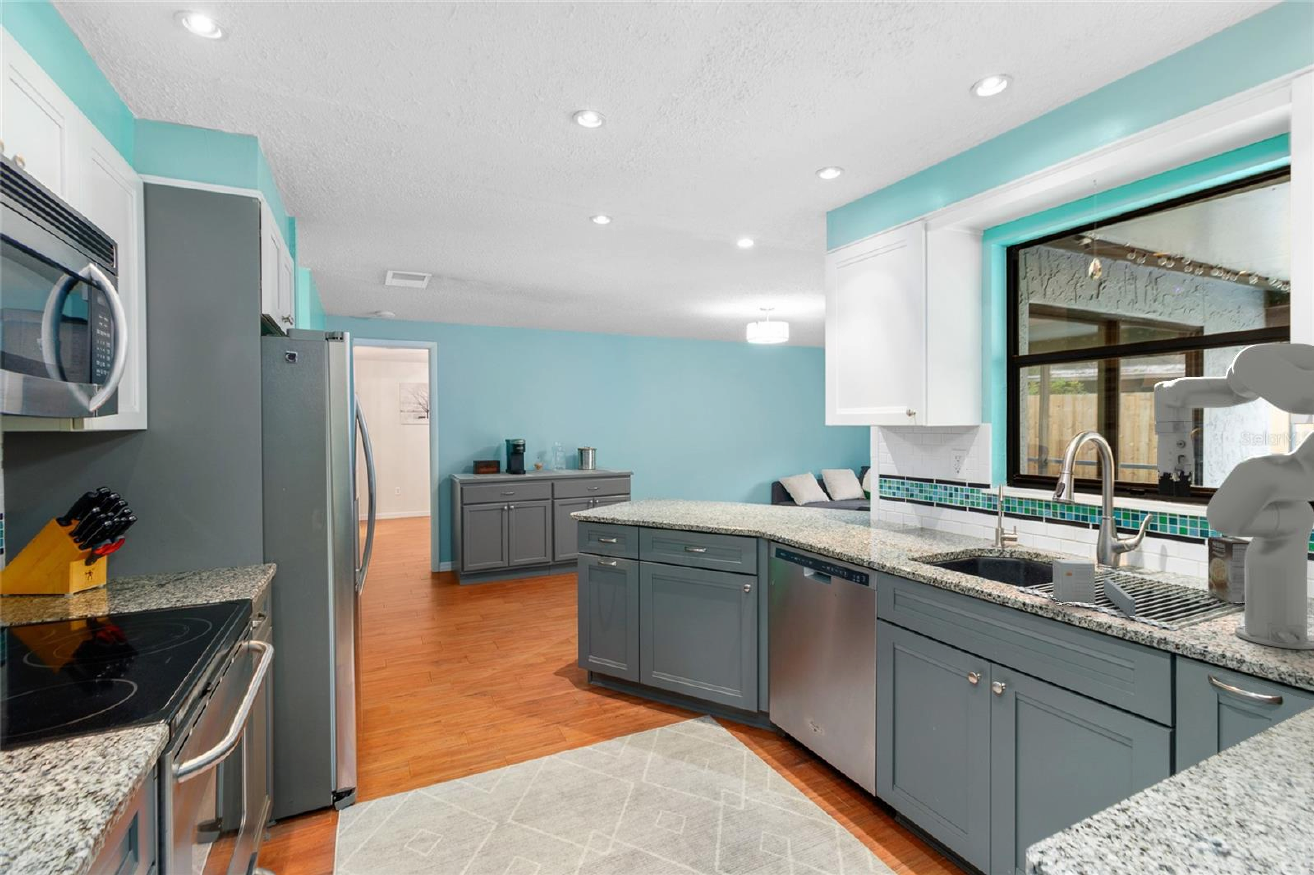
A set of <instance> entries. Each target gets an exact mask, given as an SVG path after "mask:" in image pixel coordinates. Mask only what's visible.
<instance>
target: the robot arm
mask: <svg viewBox="0 0 1314 875" xmlns="http://www.w3.org/2000/svg"><path fill="white" fill-rule="evenodd" d="M1260 398H1261V399H1264V400H1265V401H1266V402H1268V403H1269V404H1271V405H1272V406H1273V407H1275V408H1277V409H1279V410H1281V411H1282V412H1286V413H1288V414H1293V415H1304V416H1305V415H1306V416H1308V415H1314V345H1311V344H1306V343H1295V342H1293V343H1260V344H1259V343H1258V344H1254V345H1250V346H1247V347H1246V348H1244V349H1242V350H1241V351H1239V352H1238V354H1237V355H1236V356H1235V357H1234V360H1233V362H1232V364H1231V365H1230V366H1229V368H1228V369H1227V371H1226V376H1220V377H1219V376H1217V377H1216V376H1213V377H1212V376H1209V377H1207V376H1200V377H1181V378H1180V377H1179V378H1177V379H1173V380H1169V381H1168V380H1167V381H1161V382H1158V383H1156V384H1155V385H1154V388H1153V408H1154V409H1153V411H1154V412H1153V413H1154V414H1153V415H1154V420H1153V421H1154V423H1153V426H1154V429H1153V430H1154V436H1157V444H1156V445H1157V446H1156V467H1157V472H1158V474H1157V478H1158V479H1157V480H1158V481H1157V482H1158V487H1157V489H1158V494H1159V495H1173V496H1174V497H1175V498H1190V497H1191V496H1192V495H1191V494H1192V493H1191V480H1192V479H1191V474H1193V473H1194V472H1195V459H1194V458H1195V456H1194V447H1193V440H1192V436H1191V435H1193V409H1210V408H1213V409H1214V408H1215V409H1219V408H1220V409H1221V408H1222V409H1223V408H1231V407H1235V406H1236V407H1237V406H1241V405H1245V404H1249V403H1252V402H1255V401H1258V399H1260ZM1173 477H1174V478H1173ZM1313 501H1314V429H1313V430H1311V431H1310V432H1309V433H1308V434H1307V435H1306V436H1305V437H1304V439H1303V440H1302V441H1301V442H1300V444H1299V445H1298V446H1297V447H1296V448H1295V449H1294V450H1292V451H1291V452H1288V453H1284V454H1258V455H1253V456H1250V457H1247V458H1245V459H1243V460H1242V461H1240V462H1239V463H1238V464H1236V466H1235V467H1234V468H1233V469H1232V470H1231V471H1230V472H1229V474H1228V475H1227V476H1226V478H1225V480H1224V481H1223V482H1222V483H1221V485H1220V486H1219V488H1218V489H1217V490H1216V491H1215V493H1214V494H1213V495H1212V497H1211V499H1210V500H1209V502H1208V505H1207V507H1206V511H1205V512H1206V514H1205V515H1206V521H1207V523H1208V525H1209V526H1210V528H1211V529H1212V530H1213V531H1215V532H1216V533H1217V534H1220V535H1222V536H1224V537H1235V538H1252V539H1251V540H1250V541H1251V542H1250V543H1249V545H1248V547H1247V549H1246V552H1245V568H1244V579H1245V604H1244V625H1241V626H1237V627H1235V628H1234V633H1235V635H1236V636H1237V637H1239V638H1241V639H1243V640H1246V641H1248V642H1252V643H1257V644H1259V645H1265V646H1269V647H1275V648H1283V649H1288V650H1289V649H1290V650H1314V637H1312V636H1309V635H1308V559H1309V558H1308V554H1309V553H1308V552H1309V544H1310V538H1311V535H1312V532H1313V528H1314V509H1313V507H1312V505H1311V504H1310V502H1313Z"/></svg>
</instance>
